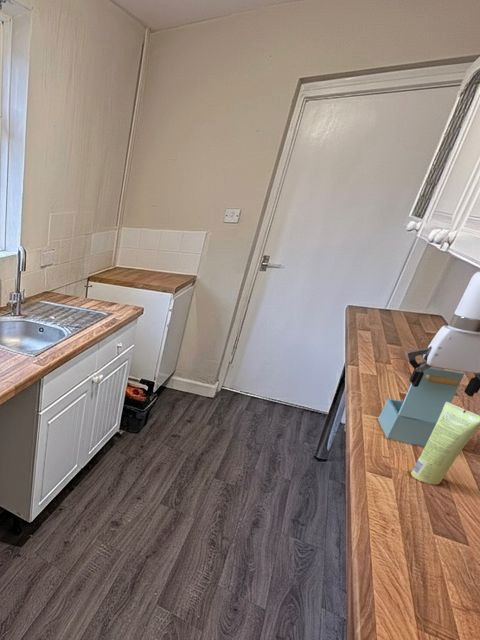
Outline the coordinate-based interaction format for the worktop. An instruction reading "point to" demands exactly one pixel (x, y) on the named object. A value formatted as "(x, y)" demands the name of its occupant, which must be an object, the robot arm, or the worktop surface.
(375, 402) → the worktop surface
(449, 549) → the worktop surface
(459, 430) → the tube
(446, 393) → the chest lid
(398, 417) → the chest
